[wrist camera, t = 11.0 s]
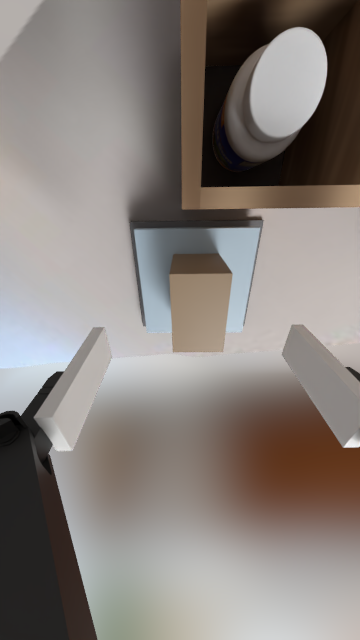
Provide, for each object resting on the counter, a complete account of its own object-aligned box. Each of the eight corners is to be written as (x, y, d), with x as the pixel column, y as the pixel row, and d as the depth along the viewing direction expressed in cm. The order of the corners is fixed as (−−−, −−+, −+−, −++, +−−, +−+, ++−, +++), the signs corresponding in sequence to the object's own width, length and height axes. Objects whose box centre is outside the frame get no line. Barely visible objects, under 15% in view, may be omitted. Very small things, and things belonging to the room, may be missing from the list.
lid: (149, 323, 29) (136, 370, 21) (138, 227, 22) (113, 241, 14) (237, 322, 29) (258, 370, 21) (253, 225, 22) (293, 238, 14)
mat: (143, 324, 30) (143, 326, 29) (130, 221, 22) (129, 221, 22) (243, 324, 29) (243, 325, 29) (262, 220, 22) (263, 220, 22)
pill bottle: (206, 109, 18) (227, 26, 9) (268, 86, 17) (352, -29, 8) (216, 180, 20) (240, 165, 12) (270, 163, 19) (335, 134, 11)
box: (182, 205, 21) (181, 209, 11) (181, 48, 16) (178, -275, 5) (283, 204, 21) (385, 206, 11) (319, 43, 16) (620, -305, 5)
